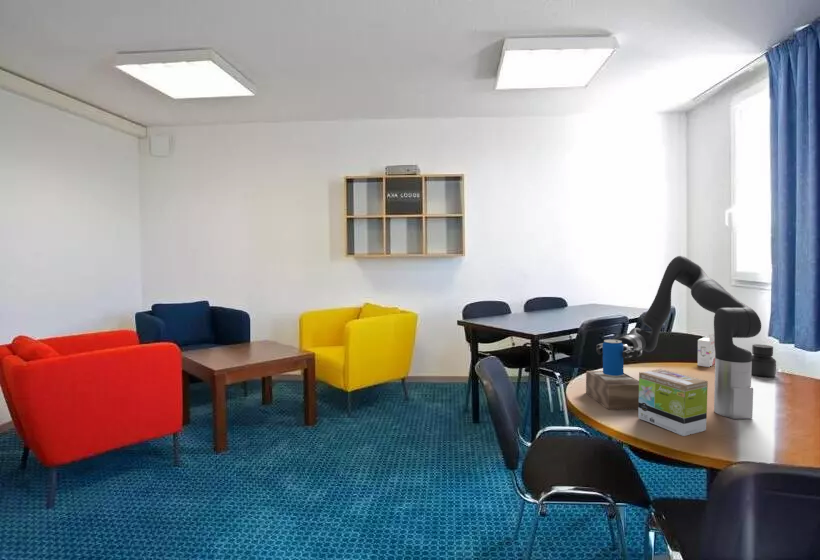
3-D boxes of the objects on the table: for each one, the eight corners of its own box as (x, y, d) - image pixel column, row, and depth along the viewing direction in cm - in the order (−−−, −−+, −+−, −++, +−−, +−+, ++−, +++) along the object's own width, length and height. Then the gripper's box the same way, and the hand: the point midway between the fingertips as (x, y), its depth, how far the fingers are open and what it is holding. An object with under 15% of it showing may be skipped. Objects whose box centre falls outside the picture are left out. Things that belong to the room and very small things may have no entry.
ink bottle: (781, 376, 185) (782, 347, 184) (769, 379, 181) (770, 349, 181) (754, 371, 194) (755, 342, 193) (742, 373, 190) (743, 344, 189)
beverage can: (627, 376, 156) (627, 341, 155) (613, 379, 153) (612, 343, 153) (613, 372, 162) (612, 338, 161) (598, 374, 159) (598, 340, 159)
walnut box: (645, 408, 148) (645, 383, 148) (608, 409, 148) (609, 384, 147) (618, 392, 166) (619, 369, 166) (586, 392, 166) (586, 370, 165)
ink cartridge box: (702, 362, 210) (703, 330, 209) (715, 364, 206) (716, 331, 206) (696, 365, 204) (697, 332, 204) (709, 367, 201) (710, 334, 200)
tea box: (636, 419, 139) (637, 371, 138) (659, 414, 143) (660, 367, 142) (683, 437, 125) (685, 384, 124) (707, 431, 129) (709, 379, 129)
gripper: (607, 333, 172) (590, 339, 160) (649, 338, 162) (633, 345, 150) (607, 353, 173) (590, 360, 161) (648, 359, 163) (633, 367, 151)
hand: (611, 353), depth 156 cm, fingers open, 8 cm apart
